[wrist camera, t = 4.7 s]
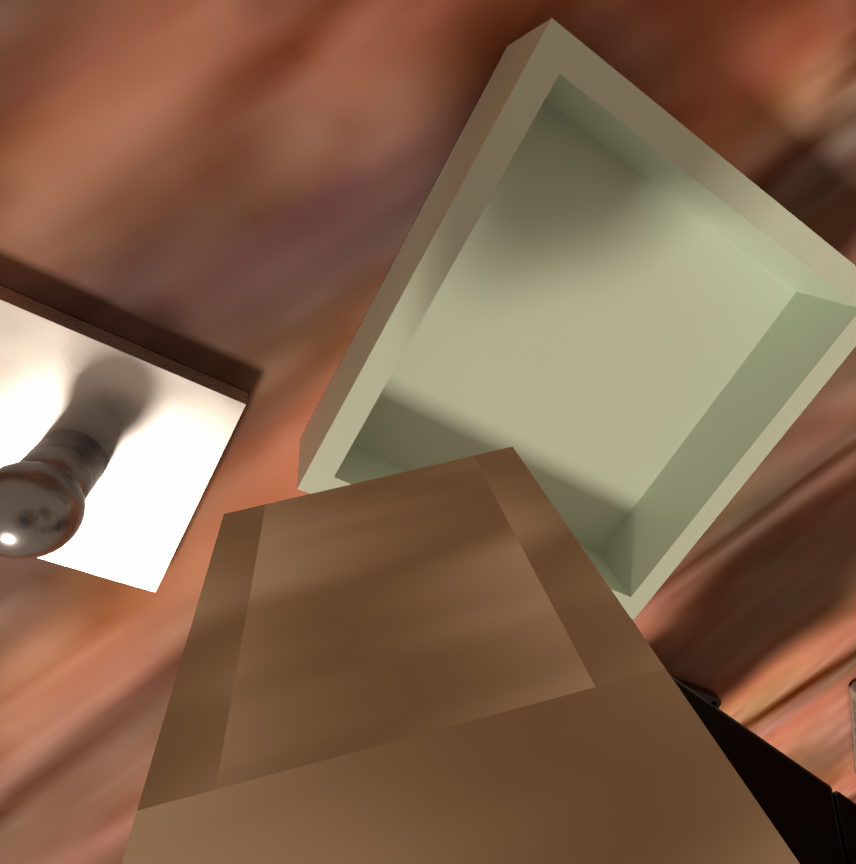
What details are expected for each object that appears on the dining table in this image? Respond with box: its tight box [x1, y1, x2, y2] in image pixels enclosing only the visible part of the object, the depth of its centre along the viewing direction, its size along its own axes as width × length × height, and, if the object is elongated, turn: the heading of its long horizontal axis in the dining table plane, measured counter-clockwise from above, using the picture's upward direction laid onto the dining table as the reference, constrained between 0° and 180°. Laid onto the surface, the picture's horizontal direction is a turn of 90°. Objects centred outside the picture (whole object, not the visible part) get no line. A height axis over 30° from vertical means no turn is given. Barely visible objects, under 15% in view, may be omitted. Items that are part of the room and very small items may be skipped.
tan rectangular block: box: [122, 446, 800, 864], centre depth 7 cm, size 5×5×8 cm
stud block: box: [0, 285, 249, 592], centre depth 17 cm, size 8×8×5 cm
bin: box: [297, 18, 856, 619], centre depth 19 cm, size 14×14×4 cm
